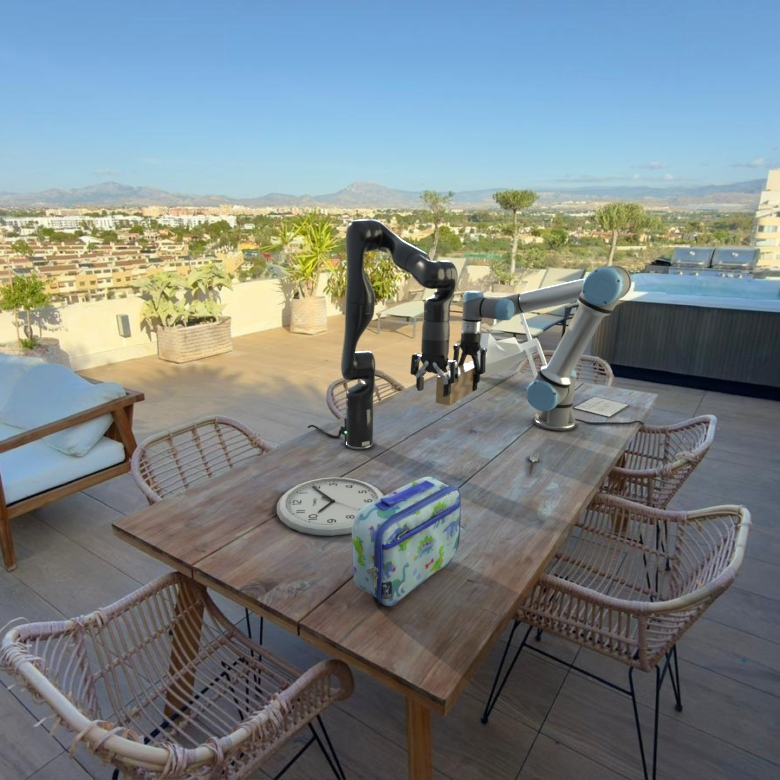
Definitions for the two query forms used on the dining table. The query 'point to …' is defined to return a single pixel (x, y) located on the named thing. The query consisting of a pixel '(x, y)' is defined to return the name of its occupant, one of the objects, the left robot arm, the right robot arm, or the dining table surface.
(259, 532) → the dining table surface
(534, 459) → the fork
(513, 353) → the white plastic object
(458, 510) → the lunch box
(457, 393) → the box
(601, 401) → the invitation card
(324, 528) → the wall clock
